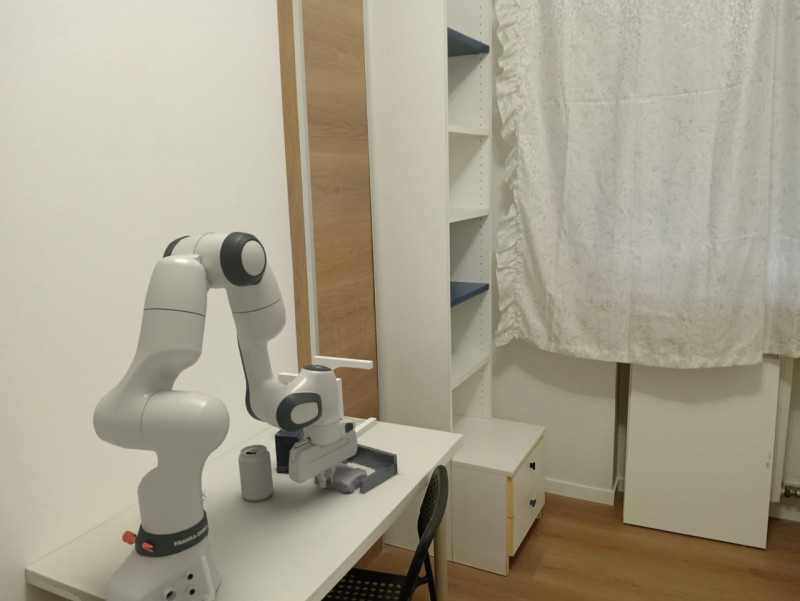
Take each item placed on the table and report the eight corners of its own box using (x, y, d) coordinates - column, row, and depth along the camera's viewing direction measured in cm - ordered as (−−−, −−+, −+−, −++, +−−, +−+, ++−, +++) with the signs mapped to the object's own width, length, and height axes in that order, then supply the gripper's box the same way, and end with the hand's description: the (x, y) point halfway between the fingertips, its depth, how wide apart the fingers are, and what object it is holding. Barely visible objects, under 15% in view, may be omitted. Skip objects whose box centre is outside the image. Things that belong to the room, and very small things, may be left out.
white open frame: (321, 416, 215) (316, 355, 212) (376, 424, 207) (372, 360, 203) (283, 440, 198) (277, 374, 194) (342, 449, 189) (337, 380, 185)
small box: (300, 474, 175) (296, 436, 173) (276, 473, 176) (272, 435, 174) (313, 457, 185) (310, 420, 183) (290, 456, 186) (287, 420, 184)
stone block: (337, 477, 177) (310, 484, 169) (339, 458, 177) (312, 465, 169) (372, 489, 170) (346, 498, 162) (374, 470, 170) (348, 478, 161)
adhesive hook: (193, 501, 164) (192, 489, 163) (200, 496, 166) (199, 484, 166) (203, 503, 163) (202, 491, 162) (210, 498, 165) (209, 486, 164)
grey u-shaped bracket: (363, 493, 163) (362, 474, 162) (314, 477, 173) (313, 458, 172) (397, 473, 173) (396, 454, 172) (349, 458, 183) (348, 441, 182)
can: (235, 500, 163) (230, 453, 160) (255, 486, 169) (250, 441, 167) (261, 505, 160) (256, 457, 157) (279, 491, 166) (275, 444, 164)
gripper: (299, 449, 152) (304, 506, 154) (360, 420, 167) (363, 472, 170) (280, 443, 155) (285, 499, 158) (341, 415, 171) (344, 466, 174)
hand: (326, 485), depth 164 cm, fingers closed
